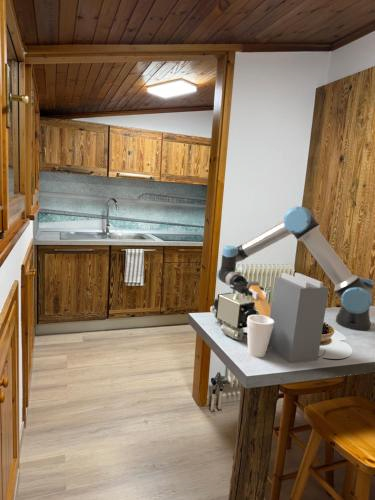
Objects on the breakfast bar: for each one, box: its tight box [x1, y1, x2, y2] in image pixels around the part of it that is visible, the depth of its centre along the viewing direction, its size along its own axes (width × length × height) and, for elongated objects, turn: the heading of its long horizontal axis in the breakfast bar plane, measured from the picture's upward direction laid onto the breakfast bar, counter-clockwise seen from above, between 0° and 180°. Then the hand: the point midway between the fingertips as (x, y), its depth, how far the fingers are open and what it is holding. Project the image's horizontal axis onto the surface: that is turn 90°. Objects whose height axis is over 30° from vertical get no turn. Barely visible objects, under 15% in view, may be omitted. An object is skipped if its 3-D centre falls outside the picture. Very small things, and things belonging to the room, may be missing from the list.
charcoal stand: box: [268, 272, 330, 364], centre depth 128 cm, size 12×15×29 cm
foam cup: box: [246, 314, 274, 358], centre depth 126 cm, size 10×9×13 cm
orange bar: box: [246, 281, 271, 318], centre depth 149 cm, size 5×23×5 cm
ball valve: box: [213, 292, 258, 341], centre depth 139 cm, size 18×8×18 cm, turn 36°
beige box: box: [209, 304, 223, 324], centre depth 154 cm, size 9×7×10 cm
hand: (261, 296), depth 150 cm, fingers closed on orange bar, 4 cm apart
